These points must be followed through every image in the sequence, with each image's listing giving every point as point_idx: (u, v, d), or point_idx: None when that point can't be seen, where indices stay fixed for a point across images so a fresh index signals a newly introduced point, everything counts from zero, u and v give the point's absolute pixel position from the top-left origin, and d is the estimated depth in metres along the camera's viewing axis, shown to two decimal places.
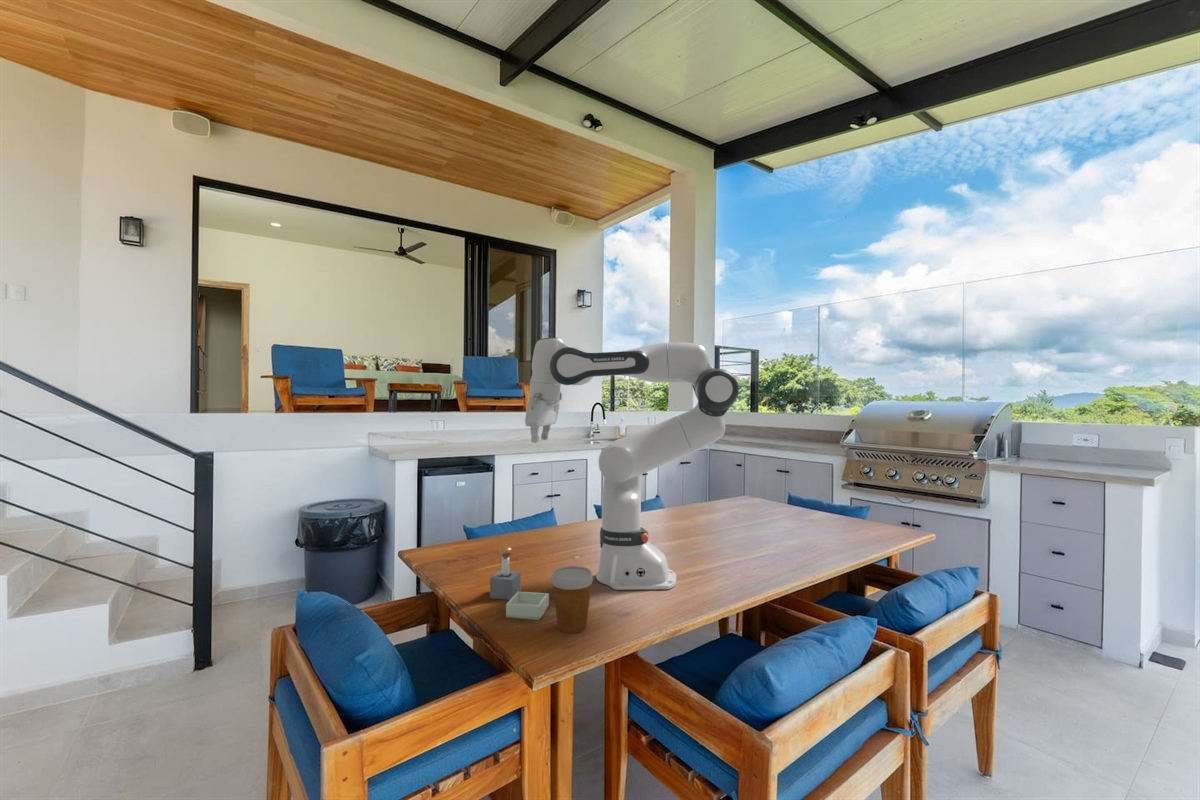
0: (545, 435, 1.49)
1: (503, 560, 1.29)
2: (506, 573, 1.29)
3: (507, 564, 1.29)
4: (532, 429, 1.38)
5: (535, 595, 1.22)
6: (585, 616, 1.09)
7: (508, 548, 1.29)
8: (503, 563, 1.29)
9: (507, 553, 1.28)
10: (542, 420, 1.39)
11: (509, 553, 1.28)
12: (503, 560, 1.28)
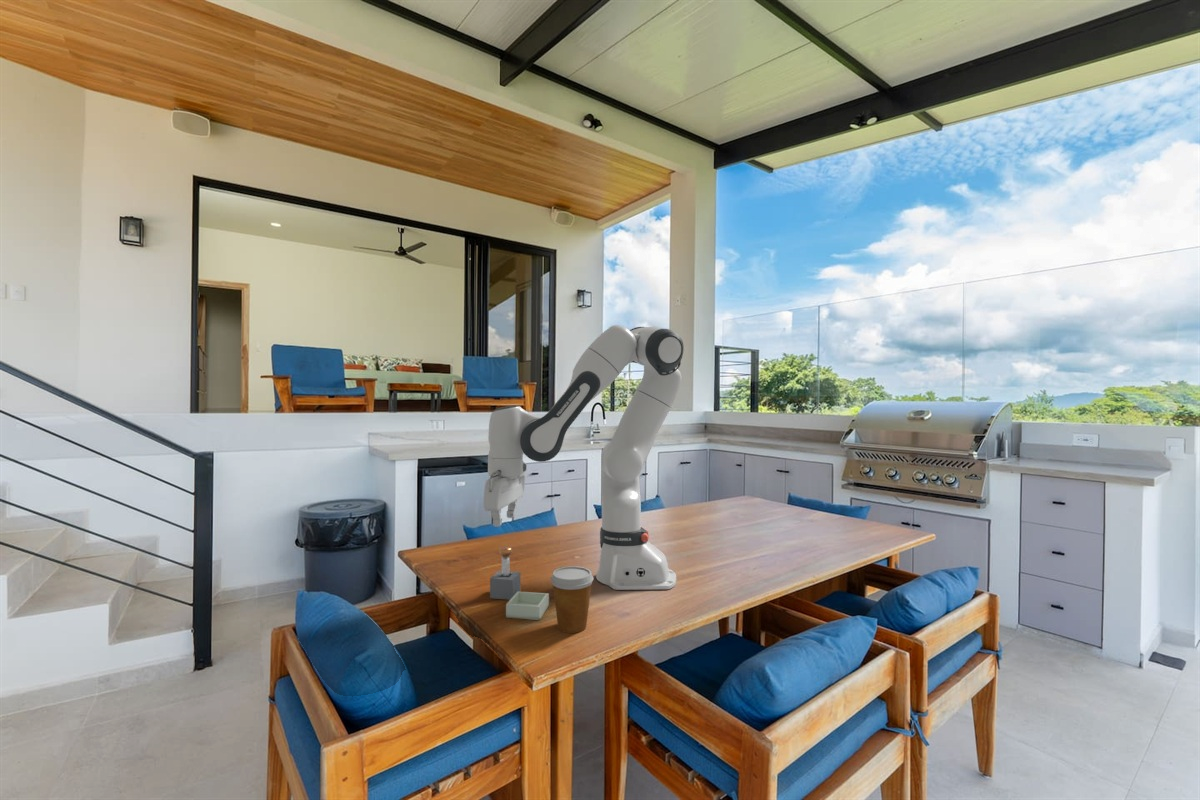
0: (511, 512, 1.33)
1: (503, 560, 1.29)
2: (506, 573, 1.29)
3: (507, 564, 1.29)
4: (493, 512, 1.23)
5: (535, 595, 1.22)
6: (585, 616, 1.09)
7: (508, 548, 1.29)
8: (503, 563, 1.29)
9: (507, 553, 1.28)
10: (503, 501, 1.24)
11: (509, 553, 1.28)
12: (503, 560, 1.28)
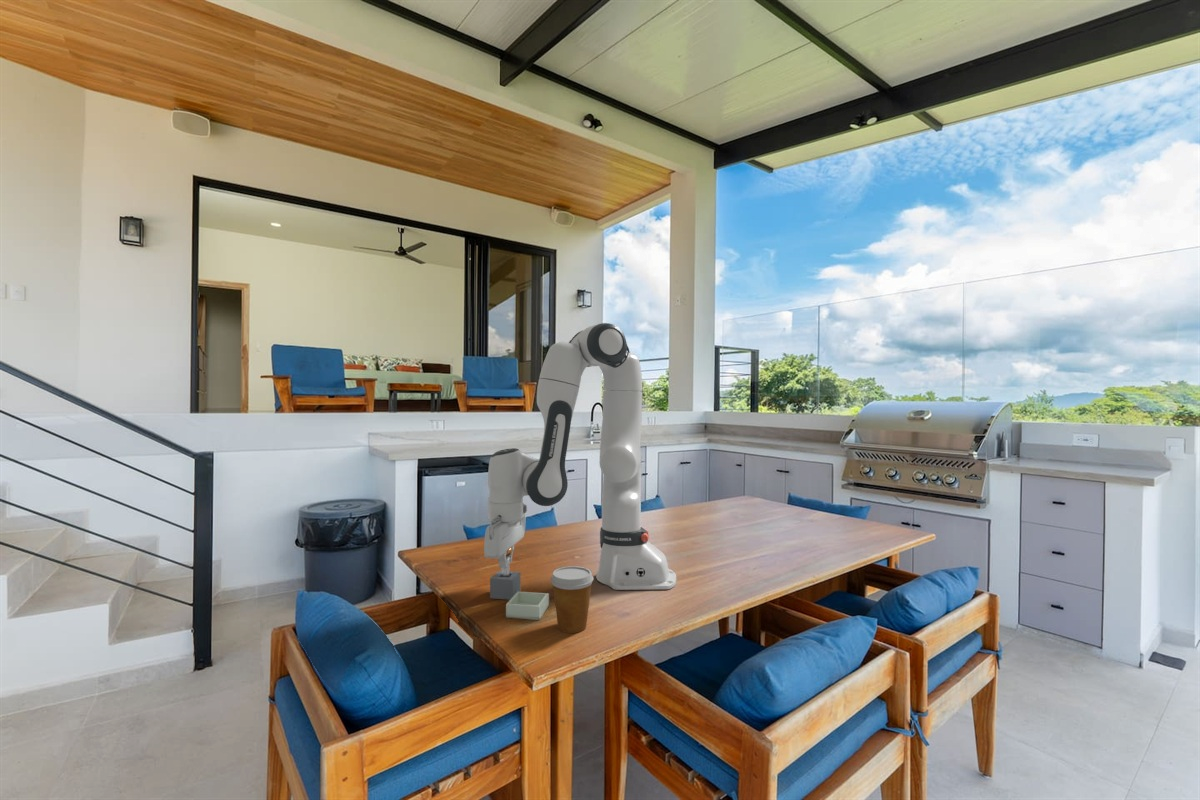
0: None
1: None
2: (506, 573, 1.29)
3: None
4: None
5: (535, 595, 1.22)
6: (585, 616, 1.09)
7: None
8: None
9: (507, 553, 1.28)
10: (504, 546, 1.24)
11: (509, 553, 1.28)
12: None
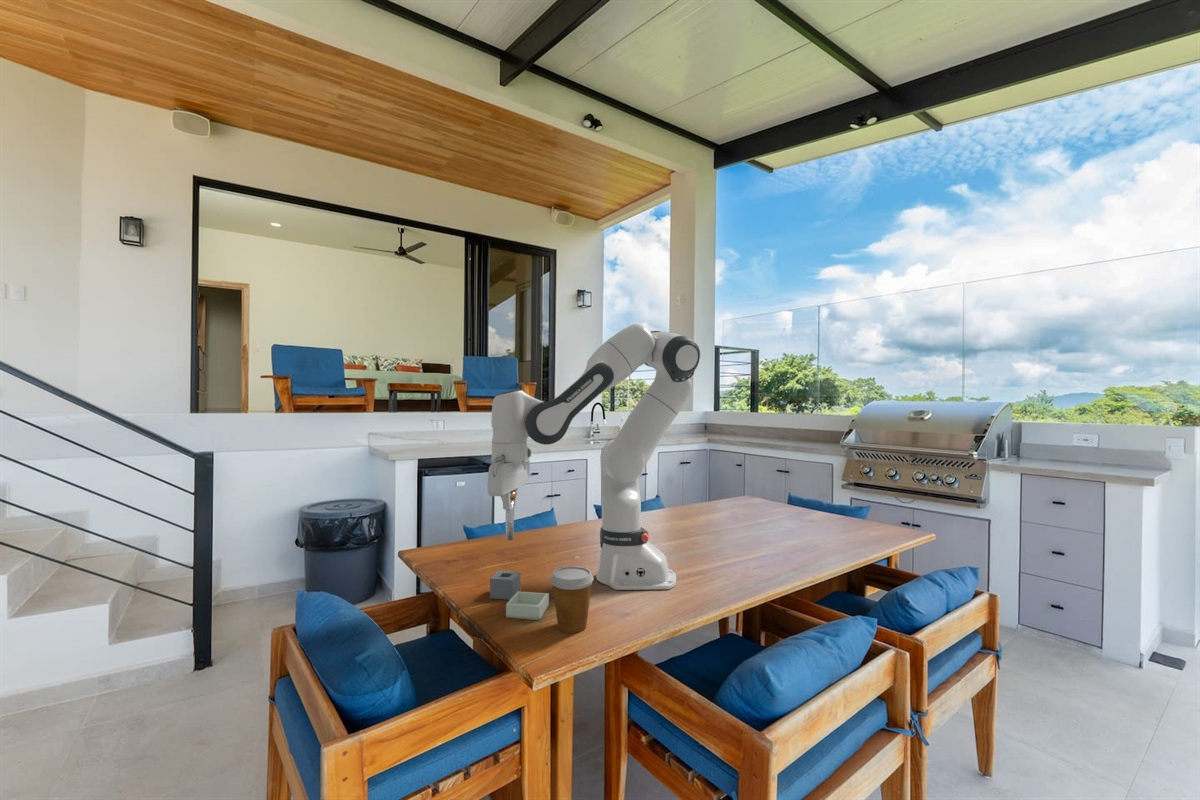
0: None
1: None
2: (510, 517, 1.27)
3: (511, 508, 1.27)
4: (502, 495, 1.24)
5: (535, 595, 1.22)
6: (585, 616, 1.09)
7: (512, 492, 1.27)
8: None
9: (511, 496, 1.26)
10: (508, 486, 1.22)
11: (513, 497, 1.27)
12: None
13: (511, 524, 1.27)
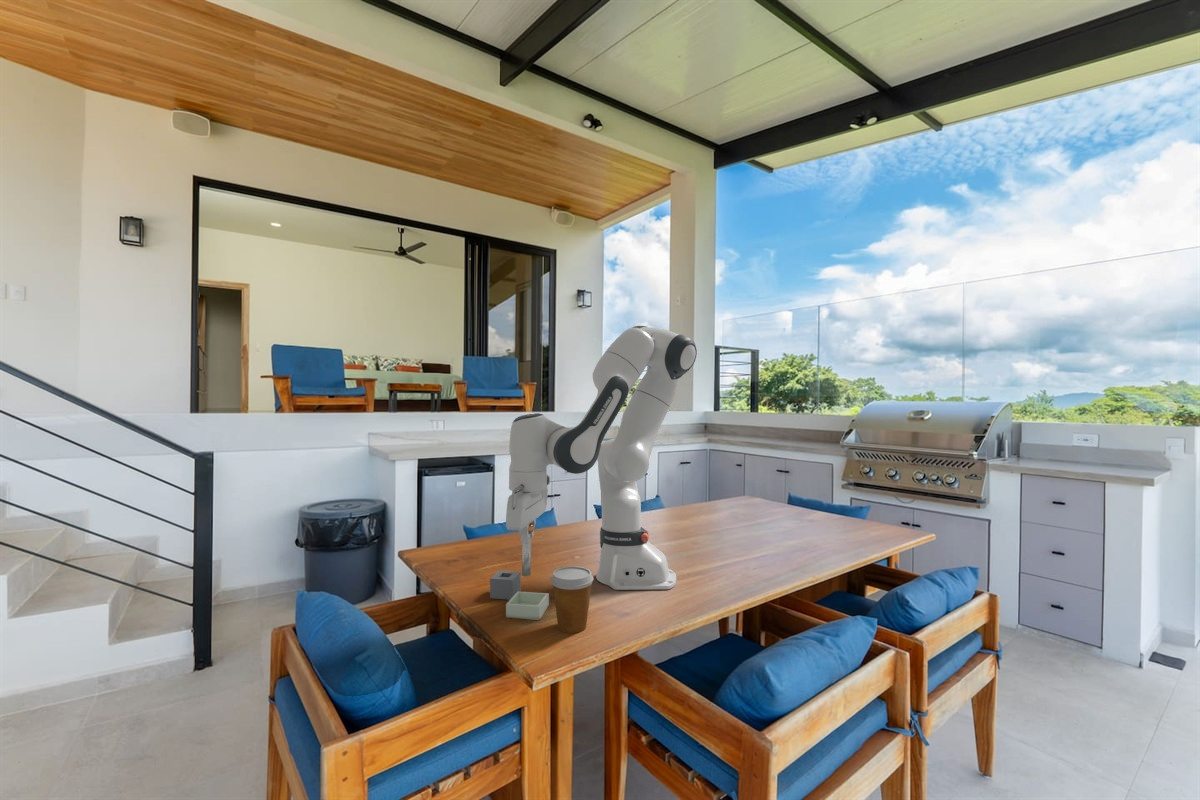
0: None
1: None
2: (528, 552, 1.18)
3: (529, 542, 1.18)
4: None
5: (535, 595, 1.22)
6: (585, 616, 1.09)
7: (530, 524, 1.19)
8: None
9: (529, 530, 1.18)
10: (527, 518, 1.13)
11: (531, 530, 1.18)
12: None
13: (528, 559, 1.18)
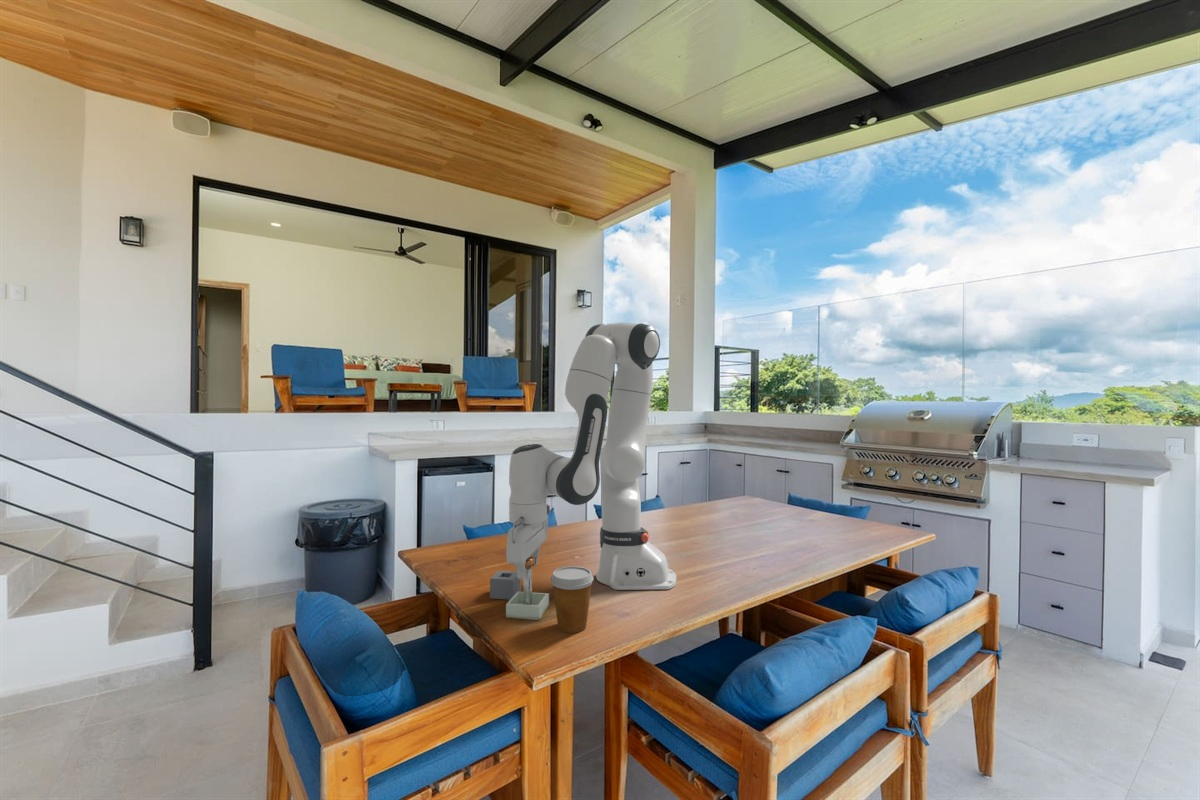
0: None
1: None
2: (529, 586, 1.18)
3: (530, 576, 1.18)
4: (517, 563, 1.13)
5: (535, 595, 1.22)
6: (585, 616, 1.09)
7: (531, 558, 1.19)
8: None
9: (530, 564, 1.18)
10: (527, 551, 1.13)
11: (532, 564, 1.18)
12: None
13: (529, 593, 1.18)
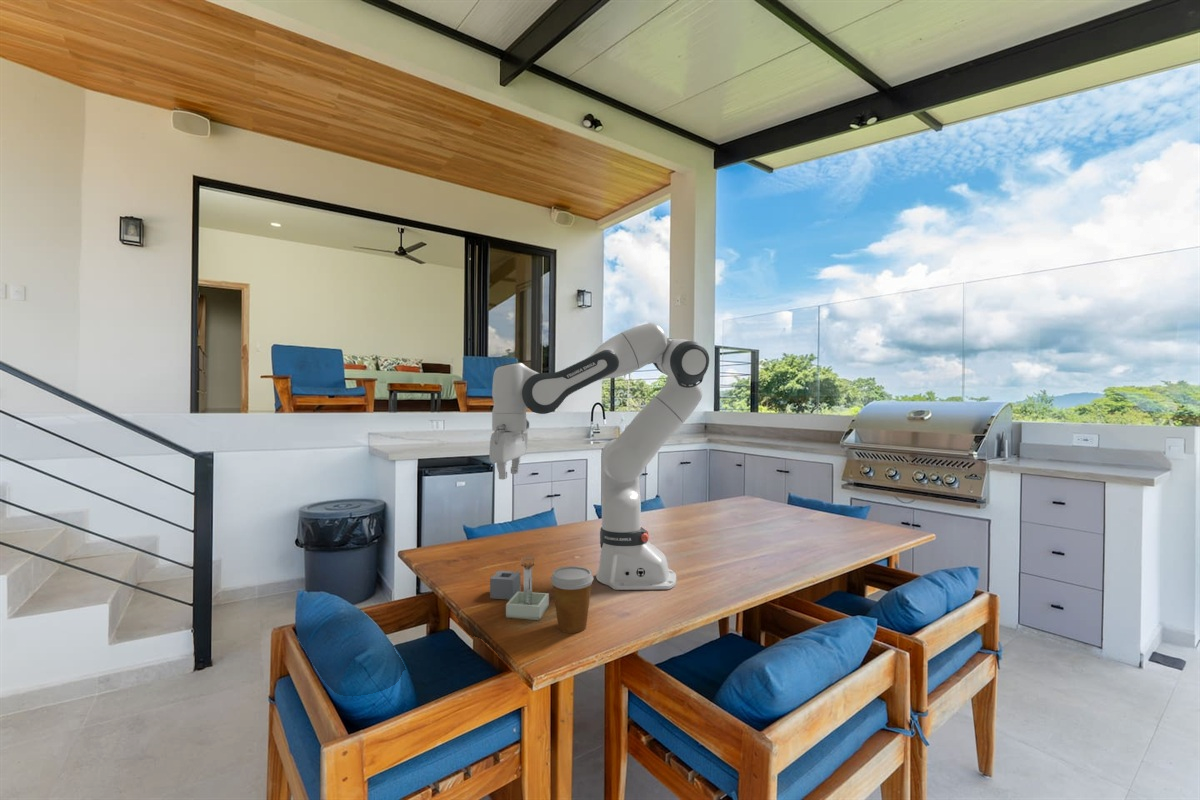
0: (515, 469, 1.36)
1: (525, 571, 1.18)
2: (529, 586, 1.18)
3: (530, 576, 1.18)
4: (498, 465, 1.26)
5: (535, 595, 1.22)
6: (585, 616, 1.09)
7: (531, 558, 1.19)
8: (525, 575, 1.18)
9: (530, 564, 1.18)
10: (508, 454, 1.26)
11: (532, 564, 1.18)
12: (526, 571, 1.18)
13: (530, 593, 1.18)
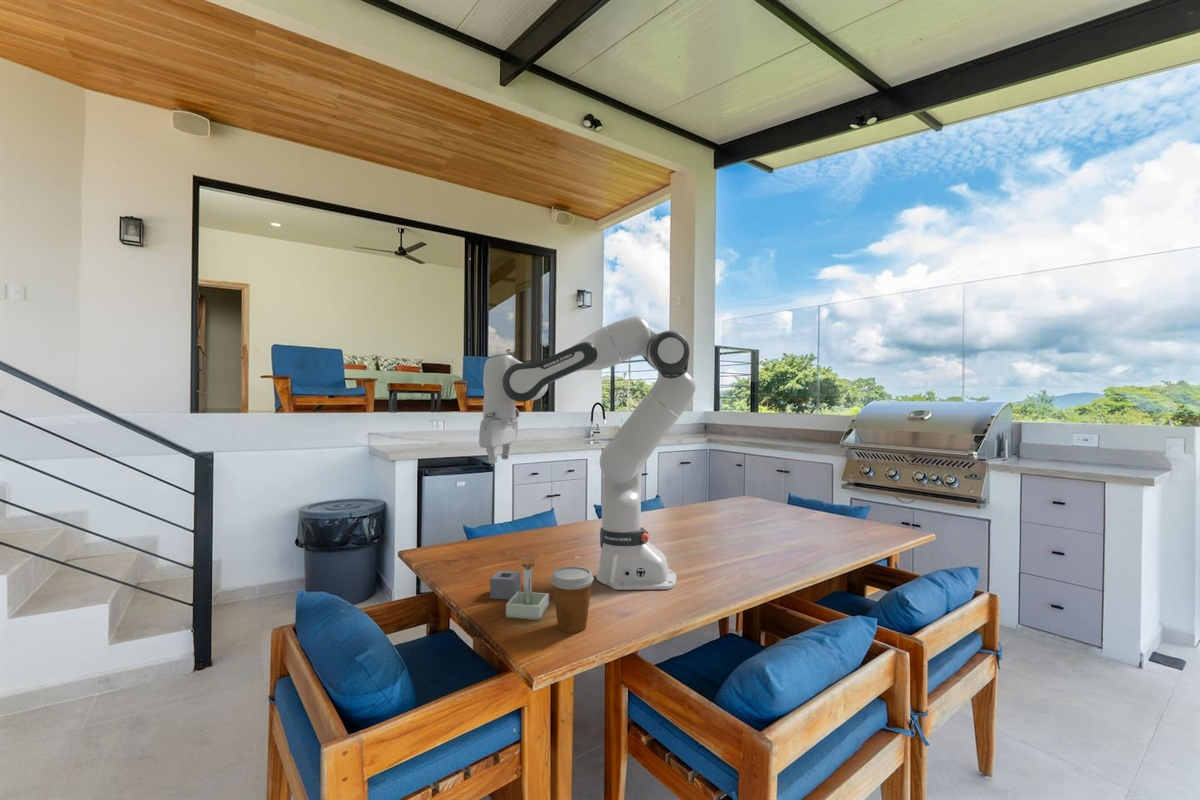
0: (505, 454, 1.45)
1: (525, 571, 1.18)
2: (529, 586, 1.18)
3: (529, 576, 1.18)
4: (488, 450, 1.35)
5: (535, 595, 1.22)
6: (585, 616, 1.09)
7: (530, 558, 1.19)
8: (525, 575, 1.18)
9: (530, 564, 1.18)
10: (497, 440, 1.35)
11: (532, 564, 1.18)
12: (526, 571, 1.18)
13: (529, 593, 1.18)
